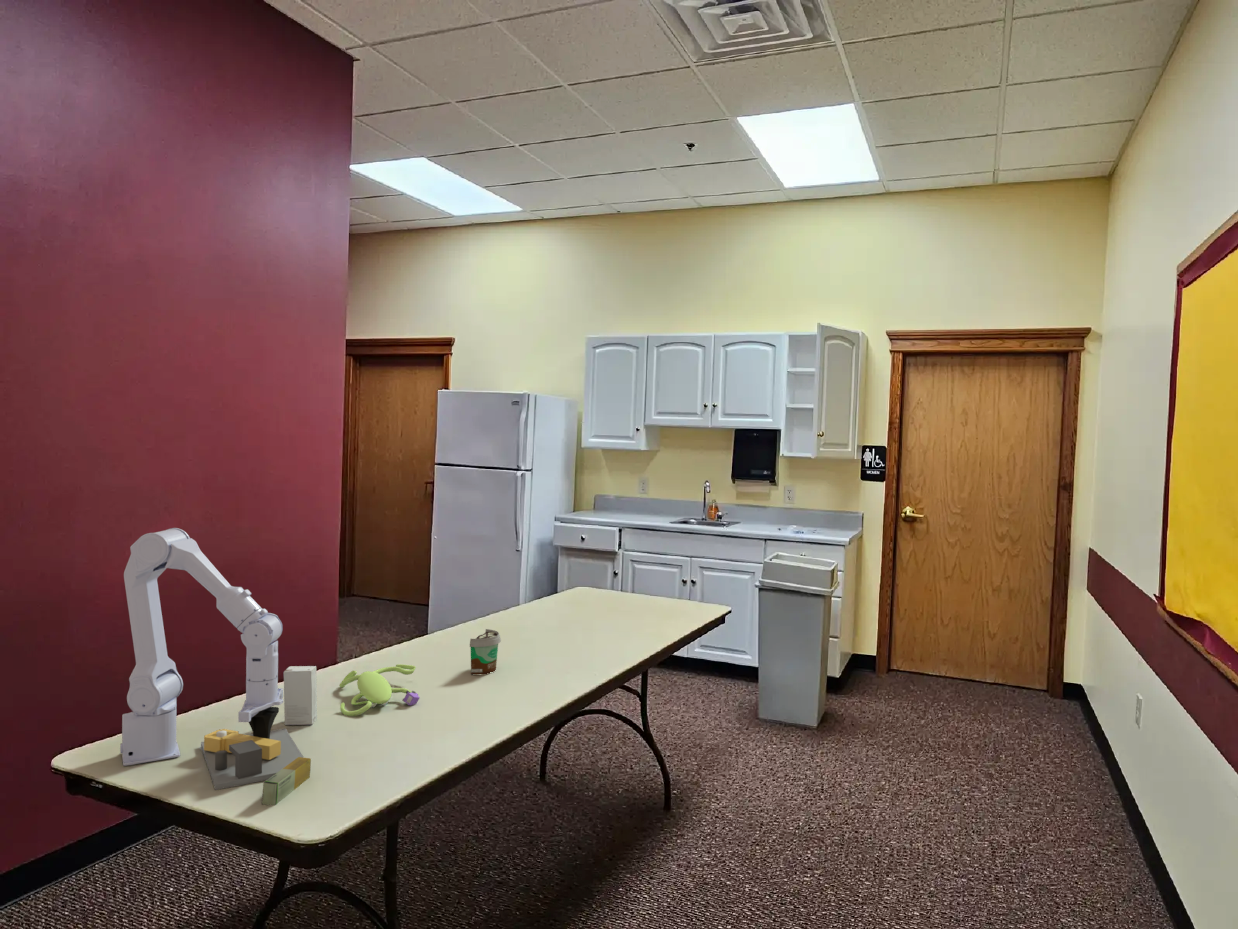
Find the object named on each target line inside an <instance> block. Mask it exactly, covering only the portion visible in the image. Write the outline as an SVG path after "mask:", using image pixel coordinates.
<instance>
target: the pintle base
mask: <svg viewBox="0 0 1238 929" xmlns="http://www.w3.org/2000/svg"><path fill="white" fill-rule="evenodd" d="M226 735H227V731H218V732H217V733H216V737H221V738H222V737H224V736H226ZM246 735H250V736H253V733H248V734H246ZM269 739H273V740H278V741H281V754H280V755H278V756H276V757H274V758H272V759H270V760H267V759H262V748H261V747H260V746H258V745H257V744H256V743H255V742H254V741H252V740H249V741H245V742H240V743H236V744H231V745H229V751H230V752H232V753H229V752H227V751H225V750H221V751H217V752H211V751H206V750H204V741H201V742H200V748H201V751H202V754H203V757H204V760H205V763H206V766H207V769H208V773H209V775H210V779H211V781H212V784H213V787H214V791H216V790H218V791H219V790H222V789H228V788H234V787H237V786H238V787H239V786H242V785H244V786H245V785H249V784H254V783H258V782H265V781H266V780H268V779H269V778H271V777H272V776H273V775H275V774H276V773H277V772H279V771H280V770H281V769H283V768H284V767H286V766H287V765H288V764H290V763H291V762H292V761H294V760H295V759H296V758H298V757H303V758H305V757H304V756H303V753H302V752H301V751H300V749H299V748H298V746H297V745H296V743H295V741H294V740H293V738H292V736H291V735H290V733H289V731H288V730H287V728H279V729H273V730H272V729H271V731H270V738H269Z"/></svg>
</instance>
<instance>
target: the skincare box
mask: <svg viewBox="0 0 1238 929" xmlns="http://www.w3.org/2000/svg"><path fill="white" fill-rule="evenodd" d="M317 682H318V679H317V666H316V665H315V666H314V665H307V666H306V665H305V666H304V665H303V666H302V665H299V666H297V665H295V666H292V665H291V666H288V667H287V668H286V669H285V670H284V671H283V705H284V707H283V708H284V725H285V726H302V725H303V726H305V725H306V726H307V725H309V726H312V725H313V724H314V723H315V722H316V721H317V719H318V702H317V701H318V698H317V697H318V695H317V694H318V689H317V688H318V687H317V686H318V684H317Z"/></svg>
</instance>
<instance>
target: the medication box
mask: <svg viewBox="0 0 1238 929" xmlns="http://www.w3.org/2000/svg"><path fill="white" fill-rule="evenodd" d="M303 757H304V756H303ZM303 757H298V758H296V759H295V760H294V761H292V762H291V763H290V764H288V765H287V766H286V767H284V768H283V769H281V770H280V771H279V772H277V773H276V774H275V775H273V776H272V777H271V778H269V779H268V780H265V781H263V784H262V793H261V794H262V795H261V796H262V797H261V799H262V800H261V805H265V806H277V805H278V803H279V804H280V802H281V801H283V800H284V799H285V798H286V797H287V796H289V795H290V794H291V793H293V791H295V790H296V789H297V788H299V787H300V786H301V785H302V784H304V783H305V782H306V781H307V780H308V779H310V777H311V767H312V766H311V764H312V763H311V762H312V760H311V759H312V758H310V757H304V758H303Z"/></svg>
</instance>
